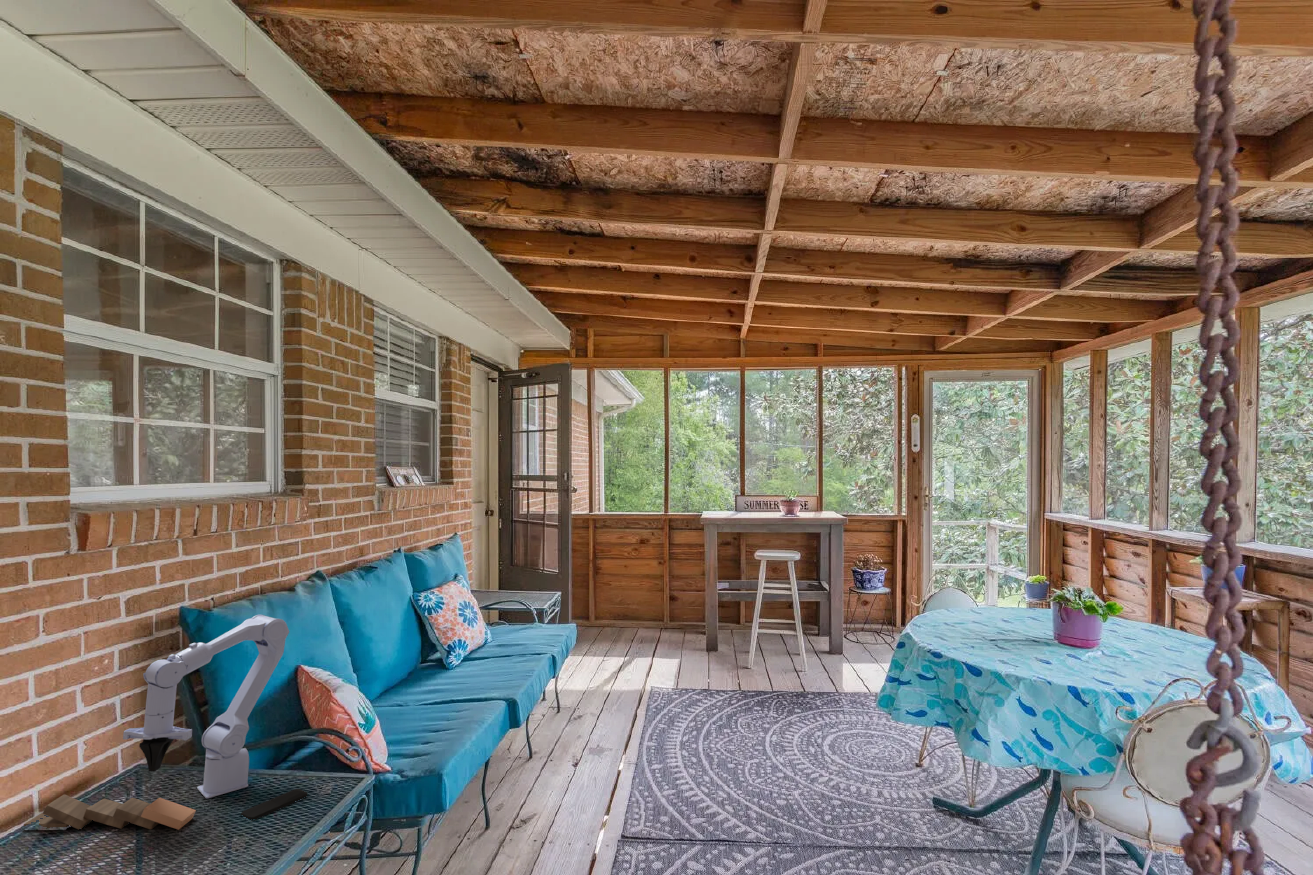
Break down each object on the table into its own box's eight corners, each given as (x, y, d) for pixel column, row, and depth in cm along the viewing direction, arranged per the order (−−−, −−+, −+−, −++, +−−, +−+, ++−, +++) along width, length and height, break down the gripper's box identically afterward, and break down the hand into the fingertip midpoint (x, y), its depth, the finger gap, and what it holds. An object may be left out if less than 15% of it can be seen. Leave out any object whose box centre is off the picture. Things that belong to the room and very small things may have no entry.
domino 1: (83, 812, 153) (42, 812, 152) (66, 823, 148) (23, 823, 147) (82, 821, 153) (41, 821, 152) (65, 832, 148) (22, 833, 147)
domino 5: (196, 810, 155) (159, 797, 154) (182, 821, 150) (144, 808, 150) (192, 818, 155) (155, 805, 154) (178, 829, 150) (140, 816, 149)
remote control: (250, 826, 154) (309, 797, 168) (250, 818, 154) (309, 790, 168) (238, 820, 157) (297, 792, 170) (238, 812, 157) (297, 785, 170)
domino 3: (140, 809, 154) (103, 798, 154) (124, 819, 149) (86, 808, 149) (137, 817, 154) (100, 806, 154) (121, 828, 149) (83, 817, 149)
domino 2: (100, 810, 153) (64, 794, 152) (85, 821, 148) (47, 804, 147) (96, 818, 153) (59, 802, 152) (80, 829, 148) (42, 813, 147)
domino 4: (169, 809, 155) (132, 797, 154) (154, 820, 150) (116, 808, 149) (165, 818, 154) (128, 805, 154) (150, 829, 149) (112, 816, 149)
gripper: (115, 716, 153) (110, 776, 152) (180, 717, 154) (175, 777, 153) (137, 706, 160) (131, 763, 159) (199, 707, 161) (194, 764, 160)
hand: (154, 769), depth 157 cm, fingers closed
